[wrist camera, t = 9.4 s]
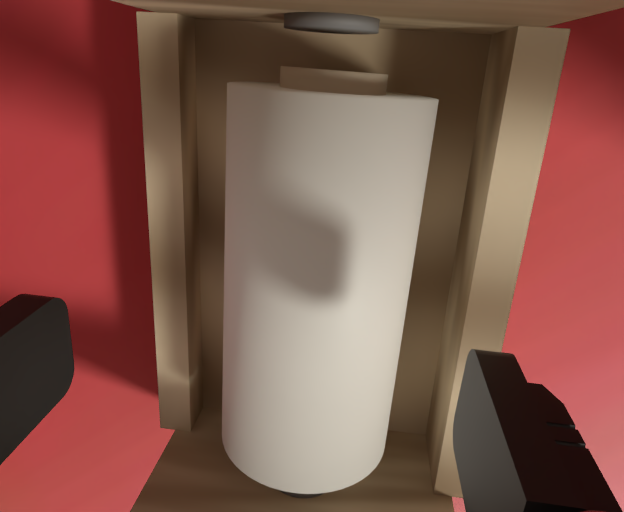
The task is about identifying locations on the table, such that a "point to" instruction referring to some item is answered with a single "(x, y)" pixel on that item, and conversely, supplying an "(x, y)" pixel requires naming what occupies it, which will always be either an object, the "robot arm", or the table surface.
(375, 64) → the roll holder
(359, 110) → the paper roll
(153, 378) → the table surface
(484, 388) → the robot arm
